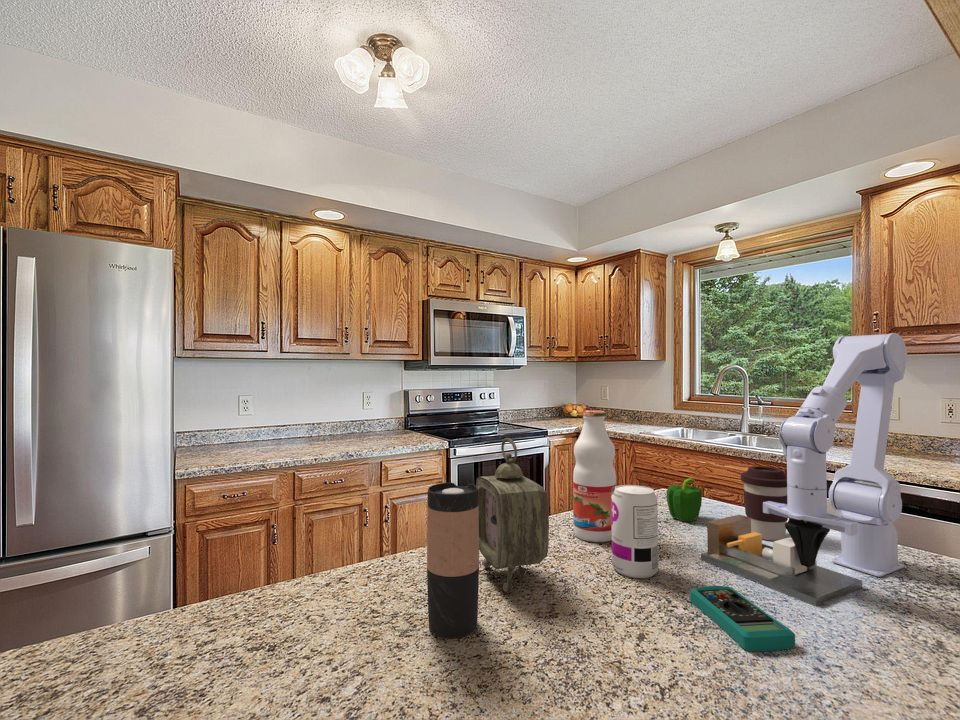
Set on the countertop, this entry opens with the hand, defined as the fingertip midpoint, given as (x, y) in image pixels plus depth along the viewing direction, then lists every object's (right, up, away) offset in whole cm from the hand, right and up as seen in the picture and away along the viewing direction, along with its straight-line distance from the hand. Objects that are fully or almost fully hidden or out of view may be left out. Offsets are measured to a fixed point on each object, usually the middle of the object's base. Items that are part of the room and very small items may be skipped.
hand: (807, 564), depth 85 cm
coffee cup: (+7, -4, +25) cm, 26 cm away
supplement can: (-28, -4, +6) cm, 29 cm away
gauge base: (-3, -4, +5) cm, 6 cm away
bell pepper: (-6, -4, +37) cm, 38 cm away
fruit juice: (-31, -4, +25) cm, 40 cm away
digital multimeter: (-19, -4, -13) cm, 23 cm away
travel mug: (-61, -4, -13) cm, 62 cm away
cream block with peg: (-2, -2, +4) cm, 5 cm away
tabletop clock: (-51, -4, +3) cm, 51 cm away
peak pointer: (-7, -2, +8) cm, 11 cm away
